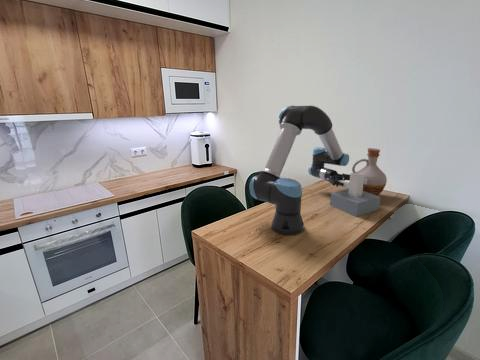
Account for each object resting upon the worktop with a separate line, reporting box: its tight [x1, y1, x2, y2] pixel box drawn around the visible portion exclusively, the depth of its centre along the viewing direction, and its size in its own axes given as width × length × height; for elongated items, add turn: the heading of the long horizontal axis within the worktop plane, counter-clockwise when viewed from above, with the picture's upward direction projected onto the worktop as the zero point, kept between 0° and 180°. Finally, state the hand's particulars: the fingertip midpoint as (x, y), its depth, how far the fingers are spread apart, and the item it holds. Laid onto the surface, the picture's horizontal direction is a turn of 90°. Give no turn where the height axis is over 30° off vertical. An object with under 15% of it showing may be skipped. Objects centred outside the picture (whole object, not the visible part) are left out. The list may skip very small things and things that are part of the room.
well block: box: [329, 188, 381, 217], centre depth 140 cm, size 18×18×8 cm
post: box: [348, 171, 365, 198], centre depth 139 cm, size 5×5×18 cm
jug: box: [351, 147, 388, 196], centre depth 153 cm, size 20×18×30 cm
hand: (358, 184), depth 137 cm, fingers open, 13 cm apart
